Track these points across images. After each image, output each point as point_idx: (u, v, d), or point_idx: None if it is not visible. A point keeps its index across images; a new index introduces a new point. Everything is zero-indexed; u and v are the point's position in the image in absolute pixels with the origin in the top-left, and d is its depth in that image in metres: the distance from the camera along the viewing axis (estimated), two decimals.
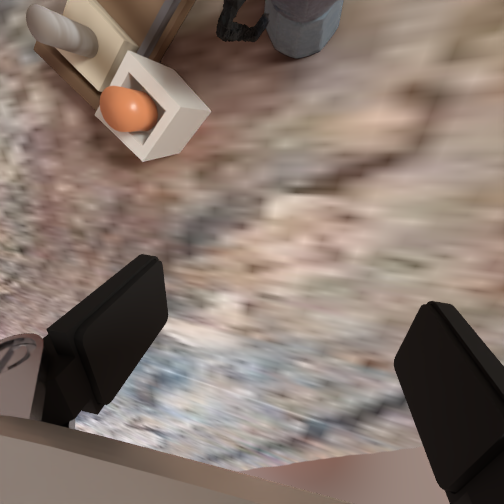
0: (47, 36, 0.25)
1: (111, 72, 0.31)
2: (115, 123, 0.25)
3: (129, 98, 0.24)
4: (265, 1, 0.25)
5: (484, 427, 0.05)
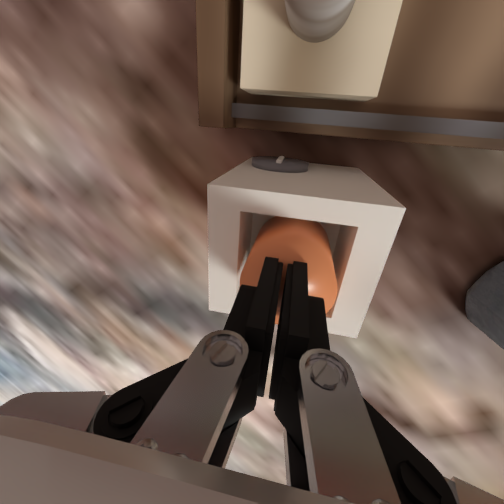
0: None
1: (295, 92, 0.13)
2: None
3: (327, 304, 0.10)
4: None
5: (278, 340, 0.07)
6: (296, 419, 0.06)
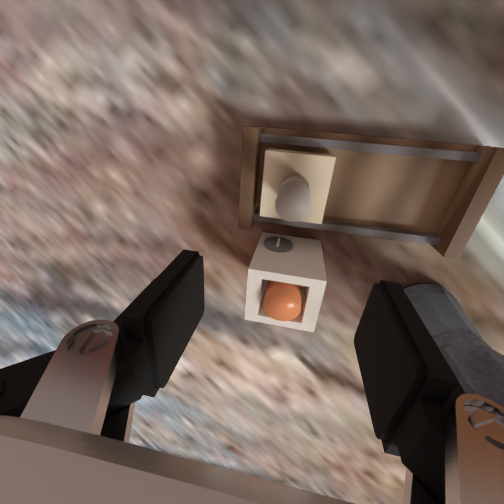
0: (286, 215, 0.21)
1: None
2: (269, 307, 0.26)
3: (297, 312, 0.26)
4: None
5: (404, 378, 0.06)
6: None
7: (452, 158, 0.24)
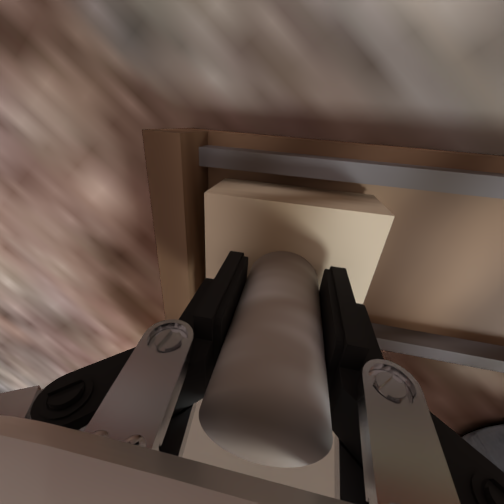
0: (244, 448, 0.06)
1: None
2: None
3: None
4: None
5: (330, 349, 0.07)
6: (356, 432, 0.06)
7: None
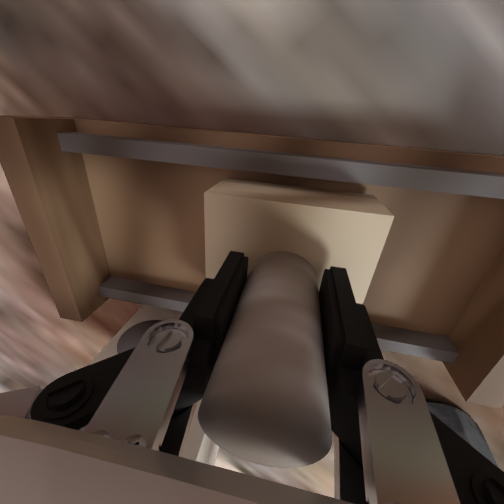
0: (243, 448, 0.06)
1: None
2: None
3: None
4: None
5: (330, 349, 0.07)
6: (357, 432, 0.06)
7: (494, 195, 0.10)
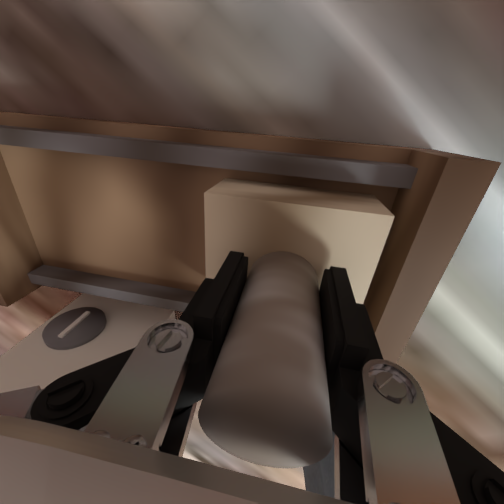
0: (244, 449, 0.06)
1: None
2: None
3: None
4: (322, 459, 0.17)
5: (330, 349, 0.07)
6: (357, 431, 0.06)
7: (353, 179, 0.10)
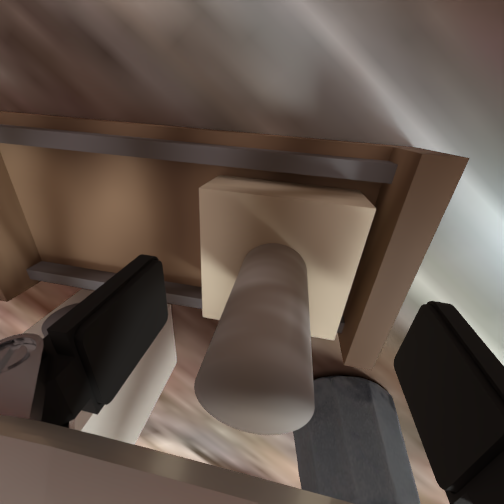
0: (236, 418, 0.07)
1: None
2: None
3: None
4: (314, 445, 0.17)
5: (484, 427, 0.05)
6: None
7: (338, 175, 0.11)
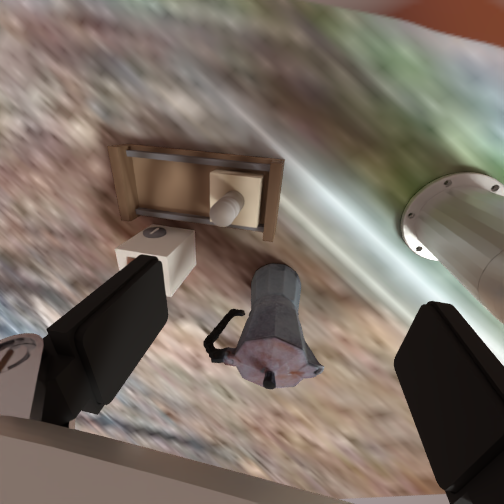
0: (218, 222, 0.30)
1: None
2: None
3: None
4: (257, 285, 0.40)
5: (484, 427, 0.05)
6: None
7: (254, 169, 0.34)
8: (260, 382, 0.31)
